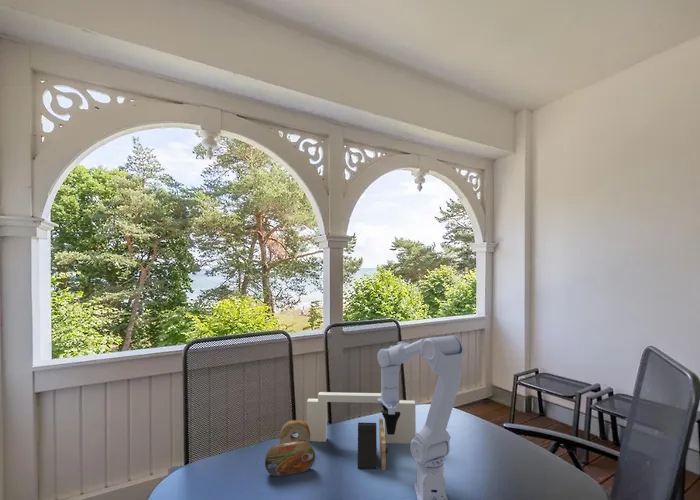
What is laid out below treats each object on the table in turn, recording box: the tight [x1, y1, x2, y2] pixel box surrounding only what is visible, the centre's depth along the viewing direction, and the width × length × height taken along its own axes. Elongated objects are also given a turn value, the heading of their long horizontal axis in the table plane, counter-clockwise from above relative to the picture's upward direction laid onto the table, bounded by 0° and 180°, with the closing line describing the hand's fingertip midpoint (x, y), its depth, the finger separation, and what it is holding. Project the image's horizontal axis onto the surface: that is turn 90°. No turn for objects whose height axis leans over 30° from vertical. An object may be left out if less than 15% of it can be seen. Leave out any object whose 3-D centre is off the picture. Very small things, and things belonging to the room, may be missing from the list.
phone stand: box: [357, 422, 378, 470], centre depth 115 cm, size 9×6×12 cm, turn 177°
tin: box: [264, 441, 316, 477], centre depth 109 cm, size 15×3×8 cm, turn 105°
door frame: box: [306, 391, 417, 445], centre depth 129 cm, size 3×39×16 cm, turn 88°
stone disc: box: [279, 419, 311, 444], centre depth 122 cm, size 10×4×10 cm, turn 95°
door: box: [378, 417, 390, 471], centre depth 119 cm, size 19×2×8 cm, turn 178°
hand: (390, 428), depth 115 cm, fingers open, 7 cm apart
